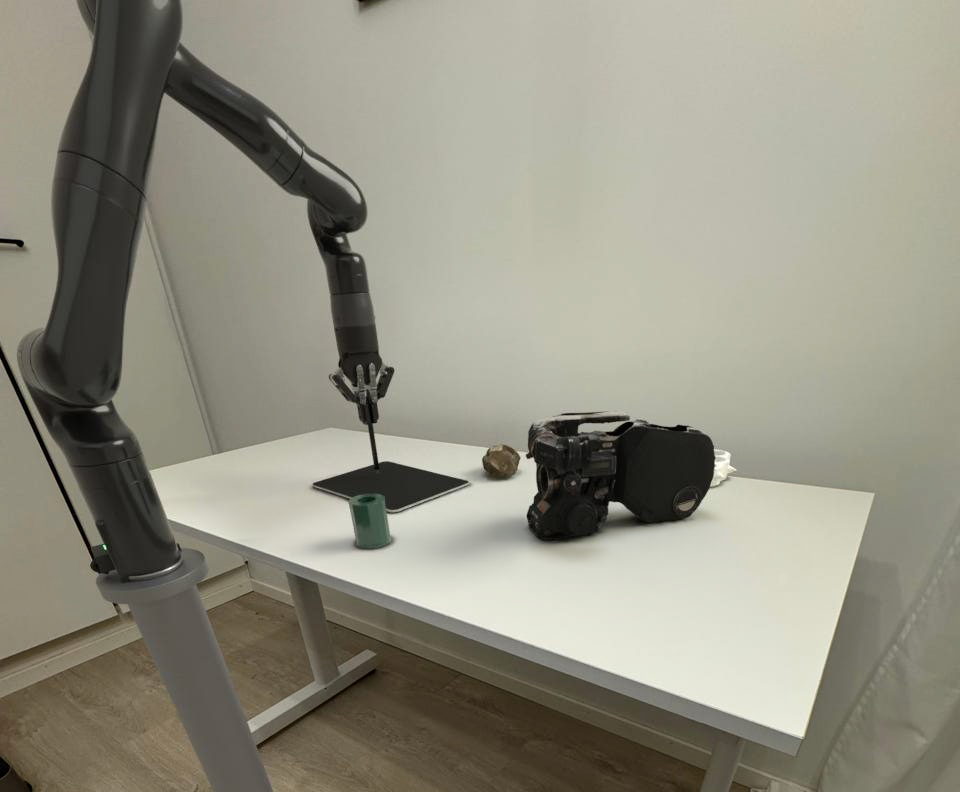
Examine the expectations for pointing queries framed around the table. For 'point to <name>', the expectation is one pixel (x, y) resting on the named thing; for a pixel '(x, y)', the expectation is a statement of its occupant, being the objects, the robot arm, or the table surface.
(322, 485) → the tablet
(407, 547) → the table surface
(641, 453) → the movie camera
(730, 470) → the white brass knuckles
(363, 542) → the holder
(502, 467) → the brown rock
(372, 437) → the stylus
